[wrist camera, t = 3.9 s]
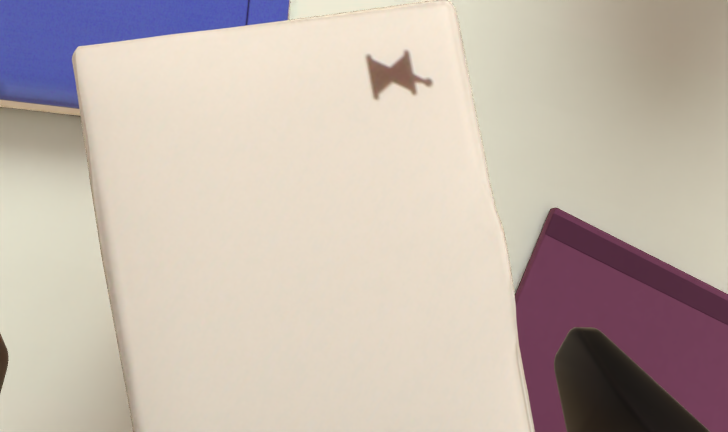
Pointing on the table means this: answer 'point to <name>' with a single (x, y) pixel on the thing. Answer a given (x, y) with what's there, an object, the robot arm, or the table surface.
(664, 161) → the table surface
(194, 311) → the cosmetic box
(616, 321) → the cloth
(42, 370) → the table surface
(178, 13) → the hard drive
